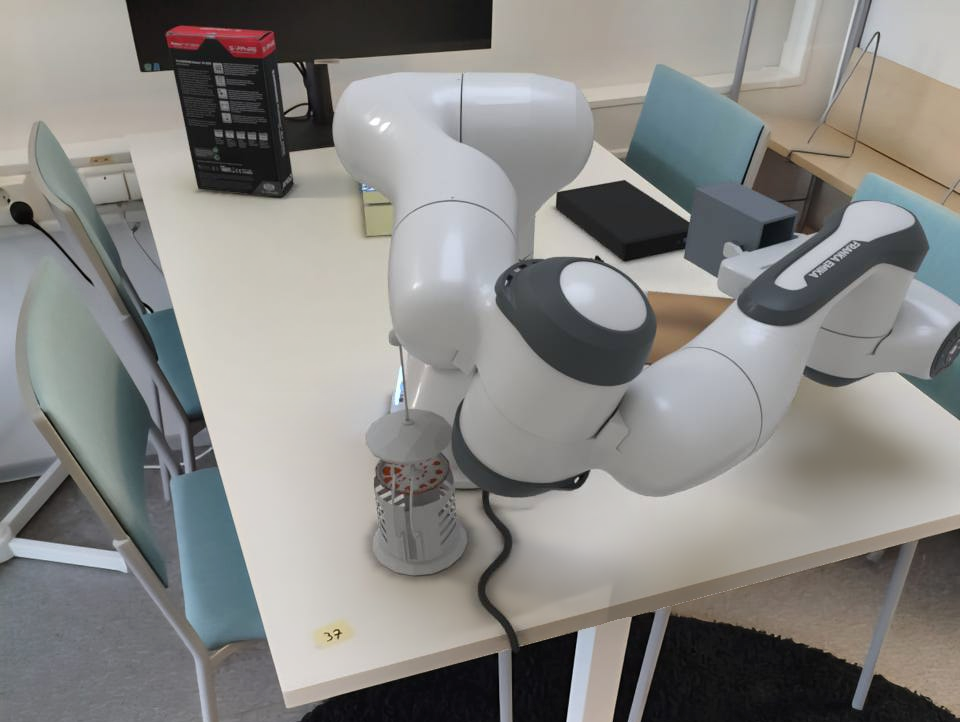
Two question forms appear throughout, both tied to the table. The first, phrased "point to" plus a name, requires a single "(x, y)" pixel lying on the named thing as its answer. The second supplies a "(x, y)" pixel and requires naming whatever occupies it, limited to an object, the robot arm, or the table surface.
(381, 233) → the cream box
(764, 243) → the grey basket
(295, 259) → the table surface
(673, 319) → the cork pad
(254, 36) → the graphics card box
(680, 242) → the external hard drive
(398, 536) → the french press
